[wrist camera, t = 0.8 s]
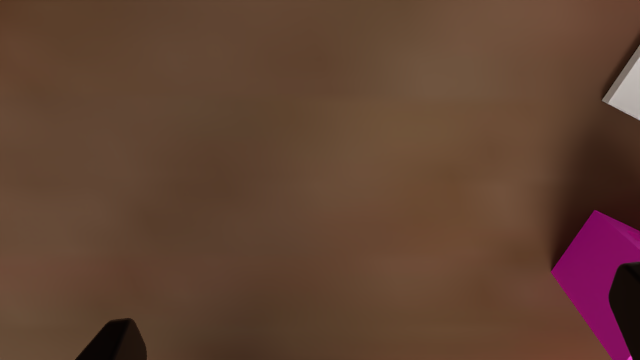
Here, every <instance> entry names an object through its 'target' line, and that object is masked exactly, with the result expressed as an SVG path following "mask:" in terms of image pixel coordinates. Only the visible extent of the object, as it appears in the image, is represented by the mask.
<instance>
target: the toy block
mask: <svg viewBox="0 0 640 360" xmlns="http://www.w3.org/2000/svg"><path fill="white" fill-rule="evenodd" d="M630 262H640V231H639V230H637V229H635V228H632V227H630V226H628V225H626V224H624V223H622V222H620V221H618V220H615V219H613V218H611V217H609V216H607V215H605V214H603V213H601V212H598V211H596V210H594V211H593V213H592V214H591V216H590V217H589V218H588V220H587V221H586V223H585V224H584V226H583V227H582V228H581V230H580V231H579V233H578V234H577V235H576V237H575V238H574V240H573V241H572V243H571V244H570V245H569V247H568V248H567V250H566V251H565V253H564V254H563V255H562V257H561V258H560V260H559V261H558V262H557V264H556V265H555V267H554V268H553V270H552V271H551V273H552V274H553V276H554V277H555V279H556V280H557V281H558V283H559V284H560V286H561V287H562V288H563V290H564V291H565V293H566V294H567V296H568V297H569V298H570V300H571V301H572V303H573V304H574V306H575V307H576V308H577V310H578V311H579V313H580V314H581V315H582V317H583V318H584V320H585V321H586V323H587V324H588V325H589V327H590V328H591V330H592V331H593V332H594V334H595V335H596V337H597V338H598V340H599V341H600V342H601V344H602V345H603V347H604V348H605V349H606V351H607V352H608V354H609V355H610V357H611V358H612V359H613V360H632V357H631V355H630V353H629V350H628V348H627V345H626V343H625V341H624V338H623V336H622V333H621V331H620V329H619V326H618V324H617V322H616V319H615V317H614V314H613V312H612V310H611V307H610V304H609V299H608V295H609V290H610V287H611V285H612V282H613V279H614V276H615V273H616V270H617V268H618V266H619V265H621V264H623V263H630Z"/></svg>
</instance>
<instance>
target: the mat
mask: <svg viewBox="0 0 640 360" xmlns="http://www.w3.org/2000/svg"><path fill="white" fill-rule="evenodd" d="M602 101H603V102H605V103H607V104H609V105H611V106H613V107H615V108H617V109H619V110H620V111H622V112H624V113H626V114H628V115H630V116H632V117H634V118H636V119H638V120H640V45H639V47H638V48H637V50H636V51H635V53H634V54H633V56H632V57H631V59H630V60H629V61H628V63H627V64H626V66H625V67H624V69H623V70H622V72H621V73H620V75H619V76H618V78H617V79H616V80H615V82H614V83H613V85H612V86H611V88H610V89H609V91H608V92H607V94H606V95H605V97H604V98H603V99H602Z"/></svg>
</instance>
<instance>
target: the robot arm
mask: <svg viewBox="0 0 640 360" xmlns="http://www.w3.org/2000/svg"><path fill="white" fill-rule="evenodd" d="M608 299H609V304H610V307H611V310H612V312H613V314H614V317H615V319H616V322H617V324H618V326H619V329H620V331H621V333H622V336H623V338H624V341H625V343H626V345H627V348H628V350H629V353H630V355H631V357H632V360H640V262H630V263H623V264H621V265H619V266H618V268H617V270H616V273H615V276H614V279H613V282H612V285H611V287H610V290H609V295H608ZM75 360H147V351H146V346H145V343H144V341H143V339H142V336H141V334H140V332H139V330H138V328H137V326H136V323H135V322H134V320H132V319H131V318H125V319H116V320H111V321H109V322H108V323H106V324H105V326H104V327H103V328H102V329H101V330H100V331H99V333H98V334H97V335H96V336H95V337H94V338H93V339H92V341H91V342H90V343H89V344H88V345H87V346H86V348H85V349H84V350H83V351H82V352H81V353H80V354H79V356H78V357H77V358H76V359H75Z"/></svg>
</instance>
